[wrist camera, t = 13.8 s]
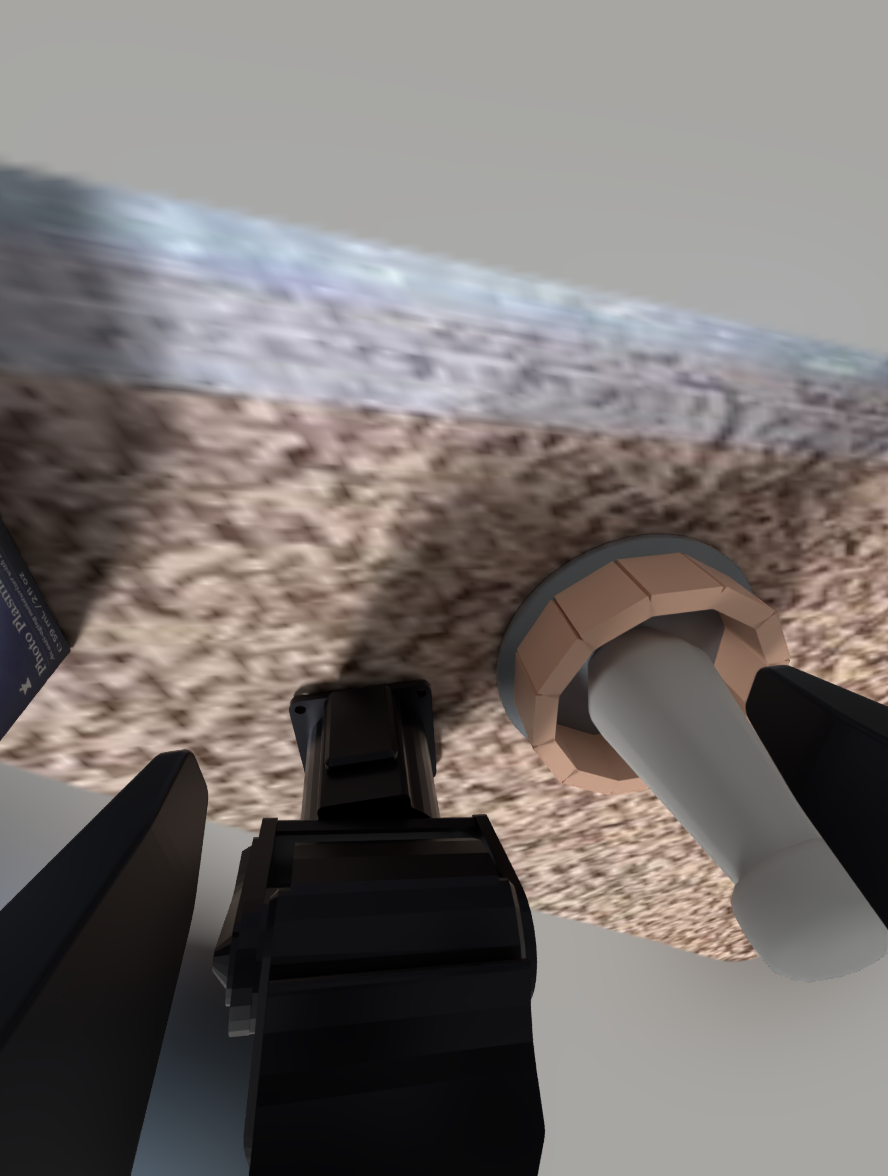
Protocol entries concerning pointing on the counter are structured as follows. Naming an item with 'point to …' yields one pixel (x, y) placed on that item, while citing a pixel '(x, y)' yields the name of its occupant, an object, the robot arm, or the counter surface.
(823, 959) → the salt shaker
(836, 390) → the counter surface
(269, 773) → the counter surface
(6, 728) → the small box
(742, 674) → the socket
